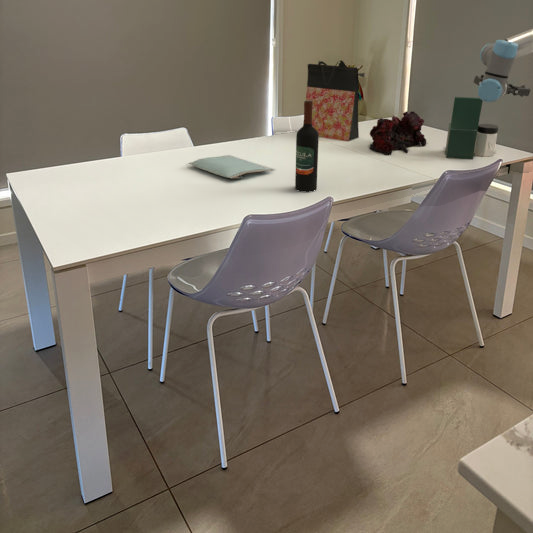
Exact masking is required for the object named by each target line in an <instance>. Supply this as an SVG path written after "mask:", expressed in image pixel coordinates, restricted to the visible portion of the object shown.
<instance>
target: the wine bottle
mask: <svg viewBox="0 0 533 533" xmlns="http://www.w3.org/2000/svg"><path fill="white" fill-rule="evenodd" d="M312 107H313V101H306V100H304V101H303V122H304V125H303V124H302V127H299V129H298V130H297V131H296V136H295V178H294V180H295V182H294V185H295V186H294V190H296V191H297V190H299V191H298V192H301V191H306V192H305V193H310V192H309V191H312V192H315V191H317V189H318V166H319V163H318V162H319V139H320V137H319V134H318V132H317V130H316V129H315V128H314V127H313V126H312ZM314 190H315V191H314Z"/></svg>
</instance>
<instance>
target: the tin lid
mask: <svg viewBox="0 0 533 533" xmlns="http://www.w3.org/2000/svg"><path fill="white" fill-rule="evenodd" d="M483 102H484V101H483V100H481V99H480V97H474V96H473V97H472V96H470V97H469V96H454V98H453V106H452V113H451V120H450V123H451V126H450V129H467V130H477V129H478V125H479V123H480V118H481V117H480V116H481V112H482V107H483Z"/></svg>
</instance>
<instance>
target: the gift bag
mask: <svg viewBox="0 0 533 533" xmlns="http://www.w3.org/2000/svg"><path fill="white" fill-rule="evenodd" d="M365 74H366V73H365V72H360V73H359V70H358V67H356V66H355V67H354V66H347V64H346V63H345V62H344V61H343V60H341V59H340V60H339V61H337V63H336V64H335V65H332V64H331V65H329V64H327V63H326V62H325V61H323V60H321V61H320V60H318V62H317V63H308V64H307V81H306V94H305V101H313V107H312V126H313V127H314V128H315V129H316V130H317V132H318V134H319V138H324V139H332V140H337V141H343V142H350V141H354V140H356V139H358V138H360V136H359V134H360V132H359V77H362V78H365ZM303 125H304V121H303V123H302V126H303Z"/></svg>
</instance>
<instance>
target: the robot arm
mask: <svg viewBox="0 0 533 533" xmlns="http://www.w3.org/2000/svg"><path fill="white" fill-rule="evenodd" d="M532 53H533V28H530V29H527V30H525V31H523V32H520V33H517V34H515V35H513V36H509V37H508V38H505V39H497V40H495V42H490V43H487V44H485V45H484V46H483V47H482V49H481V50H480V52H479V58H480V61H481V62H482V64H483V65H484V66H486V69H485V71H484V74H480V76H479V75H475V76H474V80H473V83H474V84H475V85H477V86H478V88H477V95H478V98H480V99H481V100H483V102H485V103H494V102H496V101H498V100H499V99H501V98H503V97H504V96H505V95H510V94H512V95H513V96H519V97H529V96H530V92H531V88H527V87H526V85H524V84H522V85H521V86H517V85H513V84H512V83H509V81H508V79H509V75H510V73H511V70H512V68H513V64H514V62H515V60H516V59H518V58H522V57H524V56H527V55H529V54H532Z"/></svg>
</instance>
